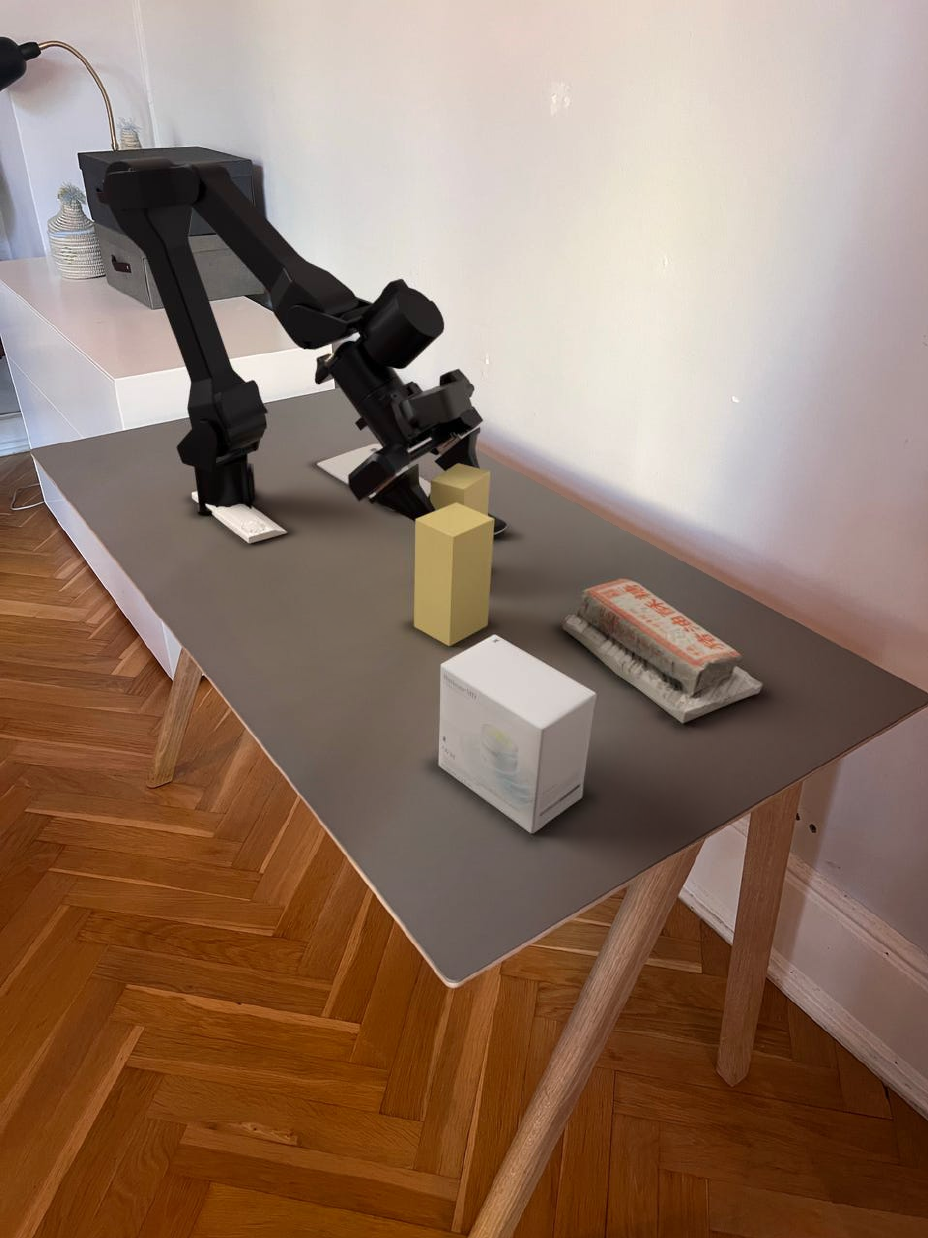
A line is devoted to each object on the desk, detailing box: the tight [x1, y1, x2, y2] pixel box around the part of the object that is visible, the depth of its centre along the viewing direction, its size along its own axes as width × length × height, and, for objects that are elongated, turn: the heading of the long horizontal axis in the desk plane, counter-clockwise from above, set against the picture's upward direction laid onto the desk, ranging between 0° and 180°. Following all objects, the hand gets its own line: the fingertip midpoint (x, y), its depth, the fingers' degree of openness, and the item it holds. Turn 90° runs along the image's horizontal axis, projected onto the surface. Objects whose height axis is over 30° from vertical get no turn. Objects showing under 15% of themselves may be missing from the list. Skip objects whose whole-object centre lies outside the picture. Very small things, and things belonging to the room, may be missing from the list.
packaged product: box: [562, 578, 764, 724], centre depth 87 cm, size 18×5×10 cm
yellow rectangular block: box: [430, 463, 491, 516], centre depth 98 cm, size 4×6×12 cm
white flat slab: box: [191, 490, 288, 544], centre depth 111 cm, size 5×15×1 cm, turn 39°
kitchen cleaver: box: [317, 443, 508, 539], centre depth 118 cm, size 31×2×10 cm
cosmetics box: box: [438, 634, 597, 834], centre depth 70 cm, size 10×6×10 cm, turn 45°
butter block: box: [413, 502, 494, 647], centre depth 89 cm, size 5×6×12 cm
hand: (464, 516), depth 96 cm, fingers open, 9 cm apart
